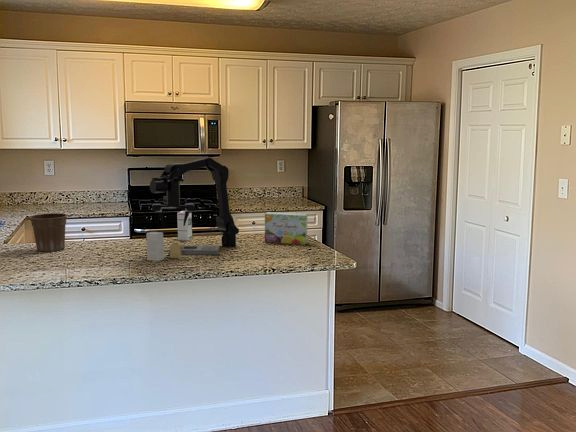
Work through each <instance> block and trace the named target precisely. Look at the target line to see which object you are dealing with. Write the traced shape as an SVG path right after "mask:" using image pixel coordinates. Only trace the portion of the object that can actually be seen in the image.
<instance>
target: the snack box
mask: <svg viewBox="0 0 576 432" xmlns="http://www.w3.org/2000/svg"><path fill="white" fill-rule="evenodd" d="M264 242H265V243H271V242H273V243H274V244H275V243H276V244H291V245H303V246H304V245H306V244H307V243H308V213H295V212H294V213H290V212H277V211H276V212H273V211H271V212H270V211H268V212H266V213H264Z"/></svg>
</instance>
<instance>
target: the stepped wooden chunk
mask: <svg viewBox="0 0 576 432" xmlns="http://www.w3.org/2000/svg"><path fill="white" fill-rule="evenodd" d="M182 245H183V243H182V242H180V240H174V241H172V242H171V243H170V244H169V250H170V255H169V256H170V259H181V258H182V257H183V255H182Z"/></svg>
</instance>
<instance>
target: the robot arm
mask: <svg viewBox="0 0 576 432" xmlns="http://www.w3.org/2000/svg"><path fill="white" fill-rule="evenodd" d="M202 168H206V169H207V170H208V171H209V172H210V174H211V177H212V178H211V179H212V180H213V182H214V183H215V185H216V186H215V187H216V194H217V202H218V210H219V211H218V212H219V214H218V216H216V217H215V220H216V223H215V225H216V226H217V228H218V229H219V231H220V233H222V236H221V245H222V247H226V248H229V247H231V248H232V247H237V235H239V232H240V229H239V228H238V226H237V225H236V224H235V221H234V220H235V219H234V217H233V216H232V214H231V212H230V205H229V196H228V194H229V193H228V188H227V187H228V186H227V182H228V180H229V171H230V170H229V168H228V167H227V166H226V165H223V164H222V163H220V162H218V161H216V160H215V159H213V158H212V157H209V156H208V157H207V156H204V157H201V158H197V159H194V160H190V161H185V162H181V163H180V162H179V163H175V162H174V163H173V162H172V163H167V164H166V165H165V167H164V169H163V171H162V173H161V175H160V176H159V177H151V181H150V183H149V191H150V193H152V194H160V193H161V194H162V193H166V195H163V197H162V198H163V199H162V200H163V204H165V205H163V204H161V203H152V206H151V212H154V213H155V214H157V215H158V218H159V219H160V222H161V225H162V227H164V223H165V222H164V217H163V211H162V210H184V211H185V214H184V222H183V225H184V226H185V223H186V220H187V217H188V215H189V213H191V214H192V212H194V211H196V209H195V208H196V207H195V204H194V203H187V202H186V203H185V204H181V200H180V199H181V191H180V189H181V188H180V187H181V186H180V185H181V184H180V183H183V182H185V180H184V179H183V178H182V175H184V174H186V173H187V172H190V171H195V170H198V169H202Z"/></svg>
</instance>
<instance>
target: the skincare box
mask: <svg viewBox="0 0 576 432" xmlns="http://www.w3.org/2000/svg"><path fill="white" fill-rule="evenodd" d="M164 247H165V245H164V232H162V231H161V232H159V231H150V232H147V233H146V254H147V256H146V258H147V259H146V260H147V261H155V262H160V261H163V260H165V251H164Z"/></svg>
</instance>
